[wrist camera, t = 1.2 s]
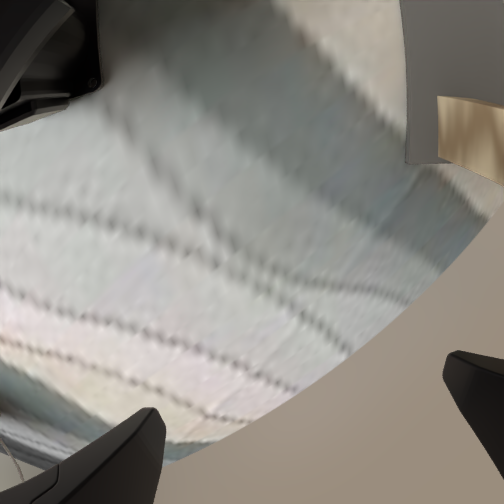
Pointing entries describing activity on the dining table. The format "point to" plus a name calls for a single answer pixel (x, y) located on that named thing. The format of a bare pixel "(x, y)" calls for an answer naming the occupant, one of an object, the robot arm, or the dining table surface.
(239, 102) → the dining table surface
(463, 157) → the birch block
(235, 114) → the dining table surface
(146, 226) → the dining table surface
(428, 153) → the charcoal rubber mat
